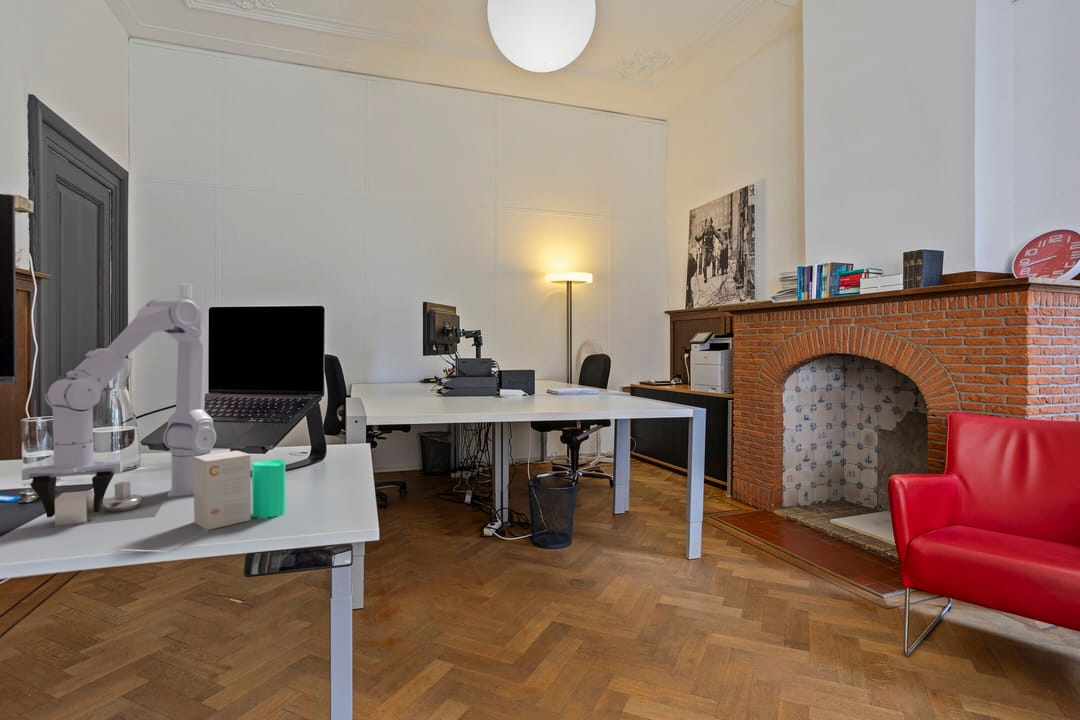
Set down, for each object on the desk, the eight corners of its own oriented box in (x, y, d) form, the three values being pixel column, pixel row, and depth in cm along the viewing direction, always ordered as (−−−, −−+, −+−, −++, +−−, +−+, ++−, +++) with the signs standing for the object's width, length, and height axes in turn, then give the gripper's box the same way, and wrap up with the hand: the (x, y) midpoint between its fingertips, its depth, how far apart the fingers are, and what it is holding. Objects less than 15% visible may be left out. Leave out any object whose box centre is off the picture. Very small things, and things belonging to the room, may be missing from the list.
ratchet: (148, 504, 115) (147, 479, 115) (124, 513, 109) (124, 487, 109) (89, 502, 115) (88, 478, 115) (62, 511, 109) (62, 485, 109)
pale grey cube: (93, 515, 107) (93, 490, 107) (86, 522, 103) (86, 496, 103) (63, 518, 105) (62, 492, 105) (55, 526, 101) (54, 499, 101)
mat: (167, 496, 121) (167, 495, 121) (154, 517, 107) (154, 516, 107) (75, 505, 114) (75, 504, 114) (48, 529, 100) (48, 527, 100)
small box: (238, 513, 111) (238, 449, 110) (251, 520, 106) (251, 454, 106) (192, 523, 104) (192, 455, 104) (205, 531, 100) (204, 460, 100)
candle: (252, 520, 107) (252, 459, 106) (252, 511, 112) (252, 453, 112) (285, 516, 110) (286, 456, 109) (284, 507, 115) (284, 451, 114)
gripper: (14, 448, 97) (15, 525, 97) (116, 443, 103) (117, 514, 104) (29, 442, 103) (30, 513, 103) (124, 437, 109) (125, 504, 110)
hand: (74, 513), depth 104 cm, fingers open, 6 cm apart
